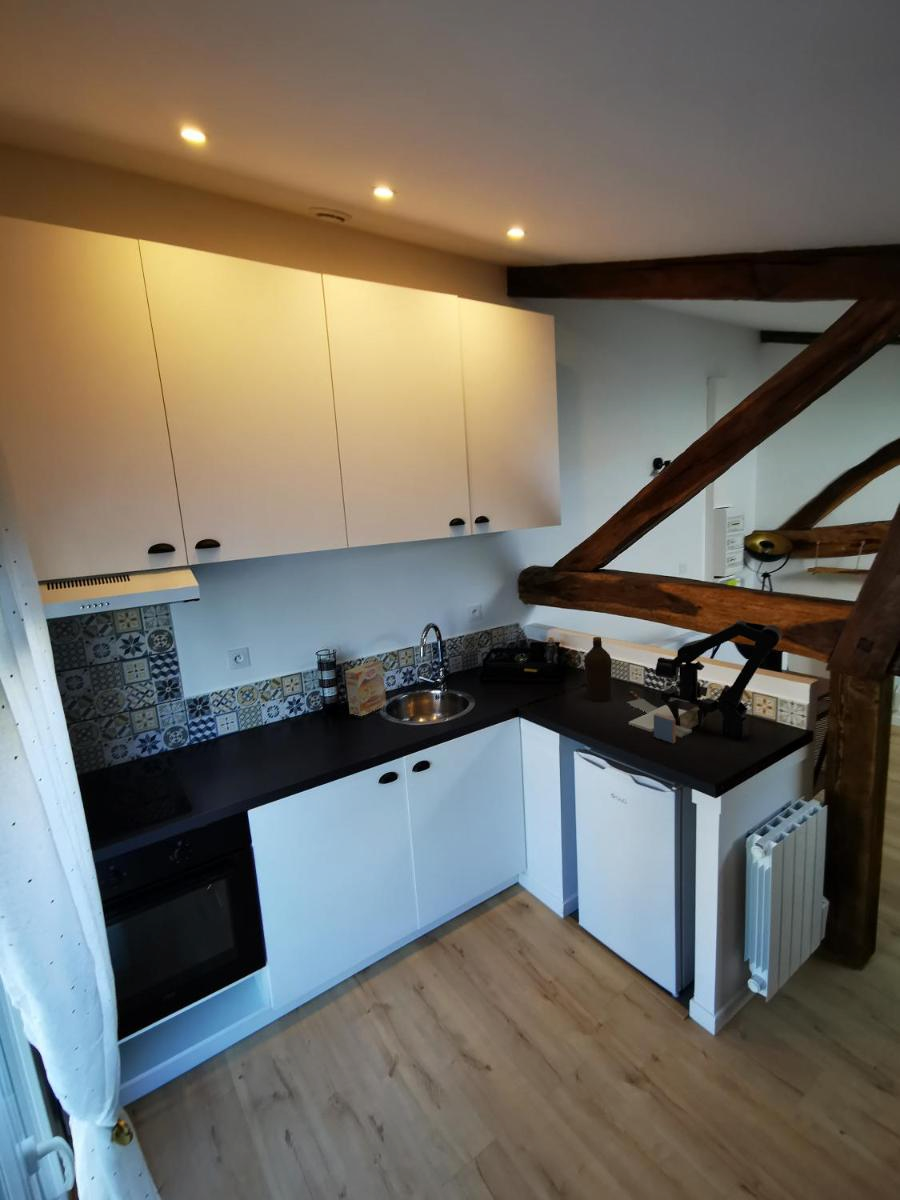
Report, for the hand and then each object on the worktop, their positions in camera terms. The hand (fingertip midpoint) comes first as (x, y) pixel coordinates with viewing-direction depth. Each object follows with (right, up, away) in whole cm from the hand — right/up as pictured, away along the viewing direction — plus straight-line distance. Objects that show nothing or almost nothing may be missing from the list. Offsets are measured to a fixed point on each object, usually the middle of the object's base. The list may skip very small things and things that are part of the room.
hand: (688, 723), depth 192 cm
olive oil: (-22, +3, +34) cm, 40 cm away
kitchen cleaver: (-9, +2, +24) cm, 26 cm away
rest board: (-7, 0, +8) cm, 11 cm away
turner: (0, -1, 0) cm, 1 cm away
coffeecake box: (-116, -4, +38) cm, 122 cm away
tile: (-11, -3, -8) cm, 14 cm away
